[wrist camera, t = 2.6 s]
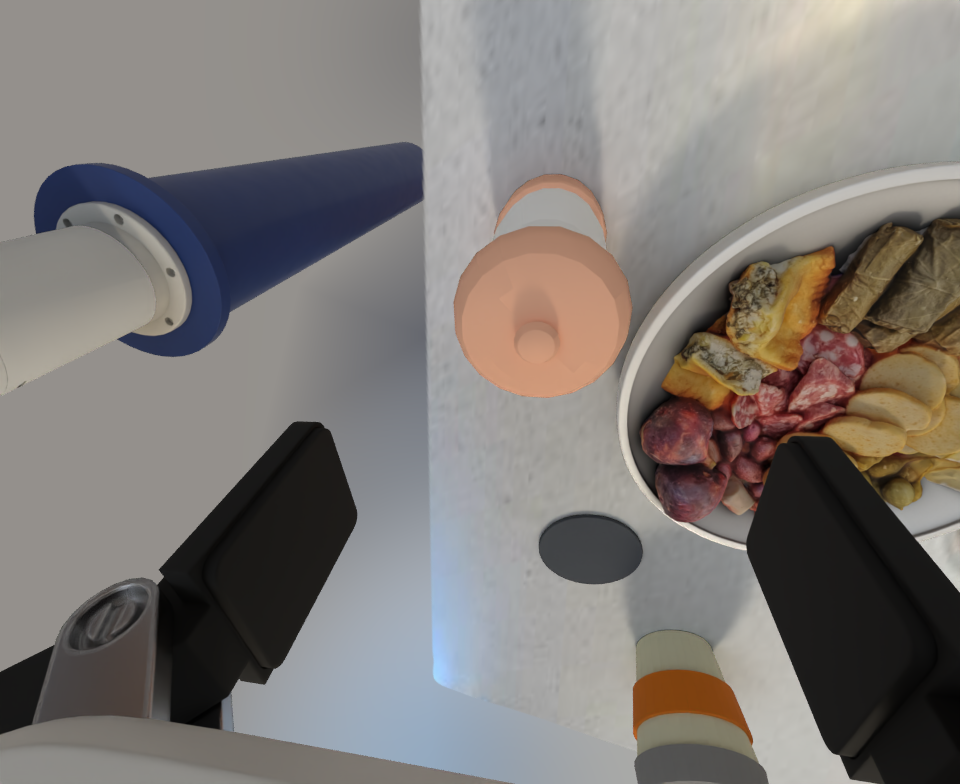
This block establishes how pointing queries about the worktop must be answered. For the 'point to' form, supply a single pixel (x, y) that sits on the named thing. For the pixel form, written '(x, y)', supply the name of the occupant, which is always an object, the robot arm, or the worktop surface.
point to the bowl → (807, 355)
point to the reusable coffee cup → (688, 716)
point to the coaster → (590, 549)
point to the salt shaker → (544, 294)
